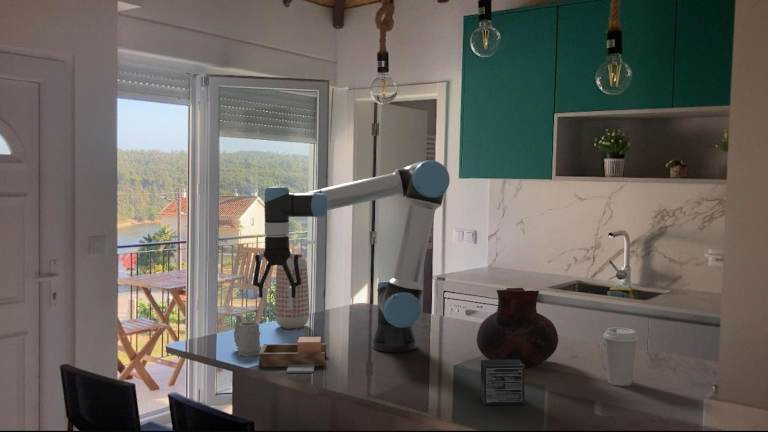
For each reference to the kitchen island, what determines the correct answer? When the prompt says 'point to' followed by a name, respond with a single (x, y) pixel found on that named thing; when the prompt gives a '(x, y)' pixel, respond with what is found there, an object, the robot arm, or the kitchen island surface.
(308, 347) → the block
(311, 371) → the mat
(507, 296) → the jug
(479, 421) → the kitchen island surface
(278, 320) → the patterned vase
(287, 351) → the wooden tray
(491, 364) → the small box
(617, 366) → the coffee cup
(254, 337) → the mug
